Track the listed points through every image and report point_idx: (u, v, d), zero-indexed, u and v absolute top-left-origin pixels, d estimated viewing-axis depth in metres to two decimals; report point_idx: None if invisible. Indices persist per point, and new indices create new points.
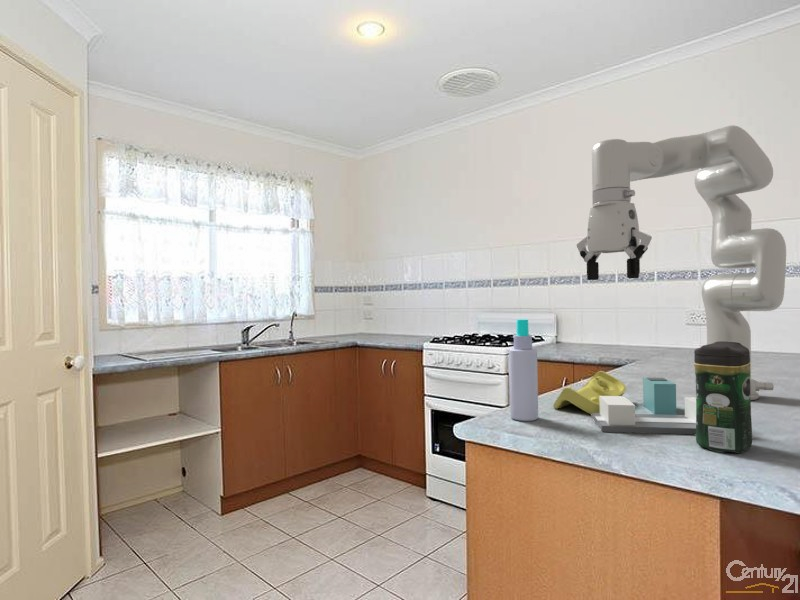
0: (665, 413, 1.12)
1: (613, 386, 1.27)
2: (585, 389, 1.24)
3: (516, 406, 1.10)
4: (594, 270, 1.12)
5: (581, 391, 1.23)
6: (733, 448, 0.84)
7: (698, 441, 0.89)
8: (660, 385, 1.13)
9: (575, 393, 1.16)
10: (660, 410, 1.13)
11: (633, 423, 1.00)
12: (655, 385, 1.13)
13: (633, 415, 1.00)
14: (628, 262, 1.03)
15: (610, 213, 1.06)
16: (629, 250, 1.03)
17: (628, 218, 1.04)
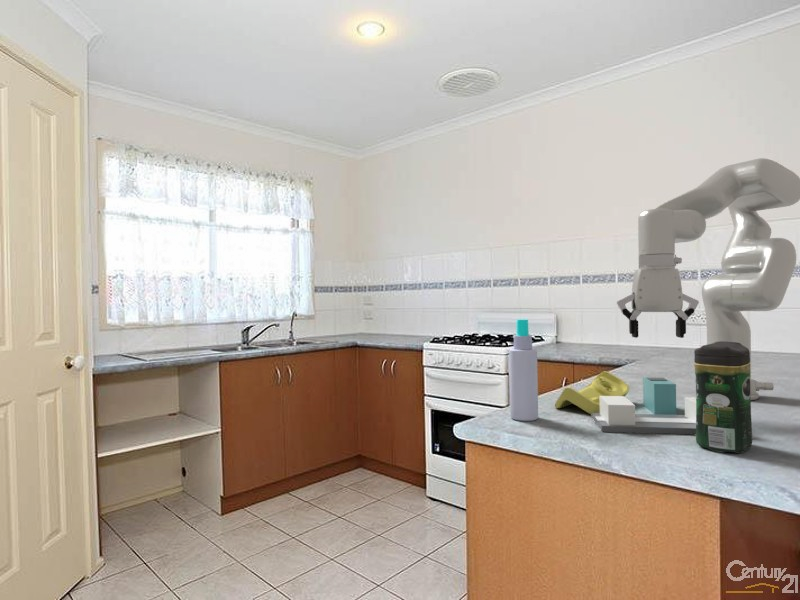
0: (665, 413, 1.12)
1: (616, 386, 1.26)
2: (587, 389, 1.24)
3: (516, 406, 1.10)
4: None
5: (583, 391, 1.22)
6: (733, 448, 0.84)
7: (698, 441, 0.89)
8: (660, 385, 1.13)
9: (576, 393, 1.16)
10: (660, 410, 1.13)
11: (633, 423, 1.00)
12: (655, 385, 1.13)
13: (633, 415, 1.00)
14: (682, 323, 1.14)
15: (667, 277, 1.14)
16: (682, 312, 1.14)
17: None
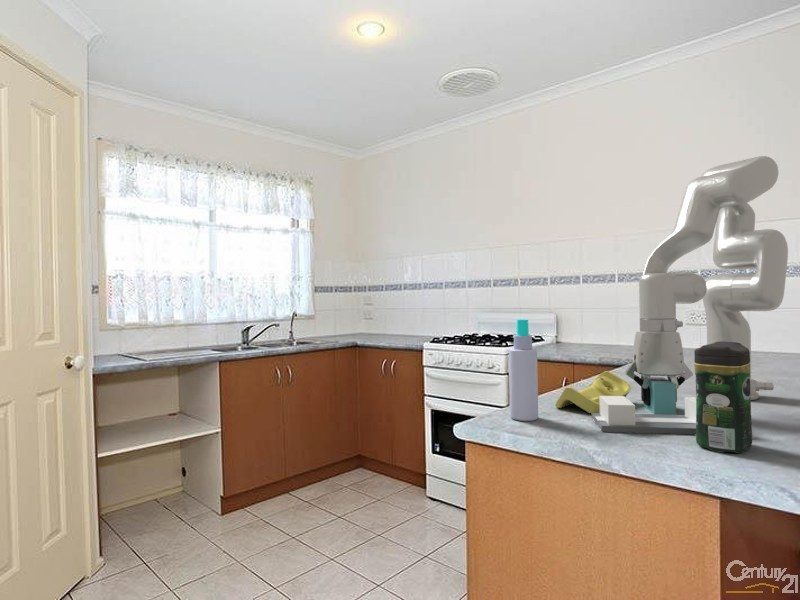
0: (665, 413, 1.12)
1: (618, 386, 1.26)
2: (589, 389, 1.24)
3: (516, 406, 1.10)
4: None
5: (584, 391, 1.23)
6: (733, 448, 0.84)
7: (698, 441, 0.89)
8: (660, 385, 1.13)
9: (576, 393, 1.16)
10: (660, 410, 1.13)
11: (633, 423, 1.00)
12: (655, 385, 1.13)
13: (633, 415, 1.00)
14: None
15: (668, 341, 1.14)
16: (676, 381, 1.15)
17: None
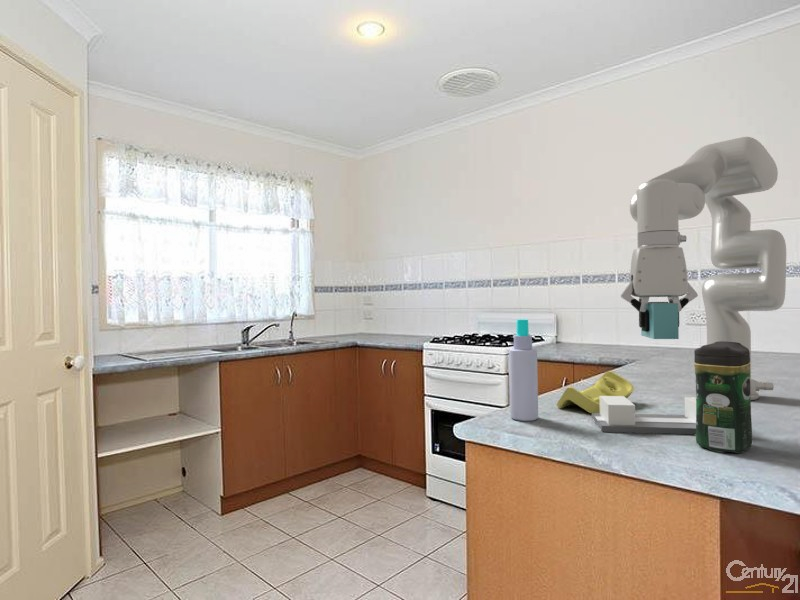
0: (666, 336, 0.99)
1: (621, 387, 1.26)
2: (591, 389, 1.24)
3: (516, 406, 1.10)
4: None
5: (586, 391, 1.23)
6: (733, 448, 0.84)
7: (698, 441, 0.89)
8: (660, 305, 0.99)
9: (577, 393, 1.16)
10: (660, 333, 0.99)
11: (633, 423, 1.00)
12: (654, 305, 0.99)
13: (633, 415, 1.00)
14: None
15: (670, 257, 1.00)
16: (678, 302, 1.01)
17: (685, 264, 1.01)
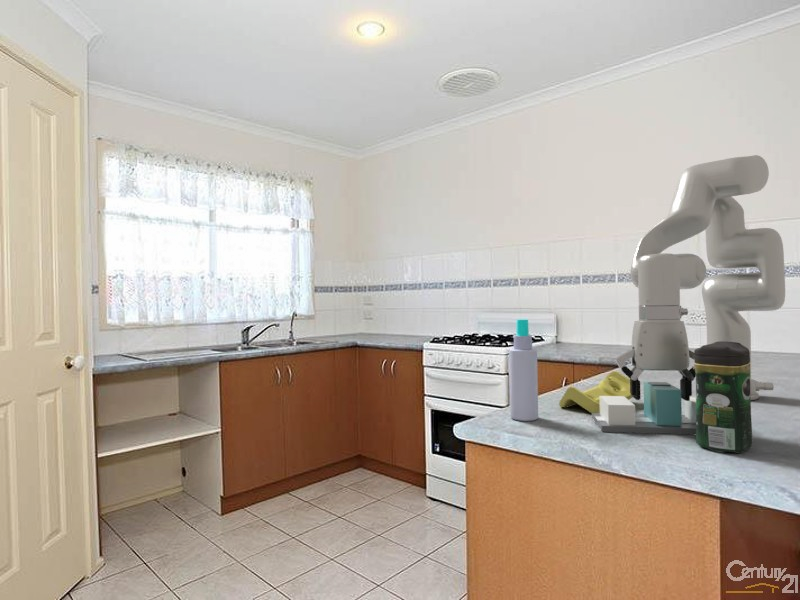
0: (669, 423, 0.99)
1: (625, 387, 1.25)
2: (594, 389, 1.24)
3: (516, 406, 1.10)
4: None
5: (589, 391, 1.22)
6: (733, 448, 0.84)
7: (698, 441, 0.89)
8: (663, 391, 0.99)
9: (578, 392, 1.16)
10: (663, 419, 0.99)
11: (633, 423, 1.00)
12: (657, 391, 0.99)
13: (633, 415, 1.00)
14: (688, 385, 1.00)
15: (671, 331, 1.00)
16: (688, 372, 1.01)
17: None
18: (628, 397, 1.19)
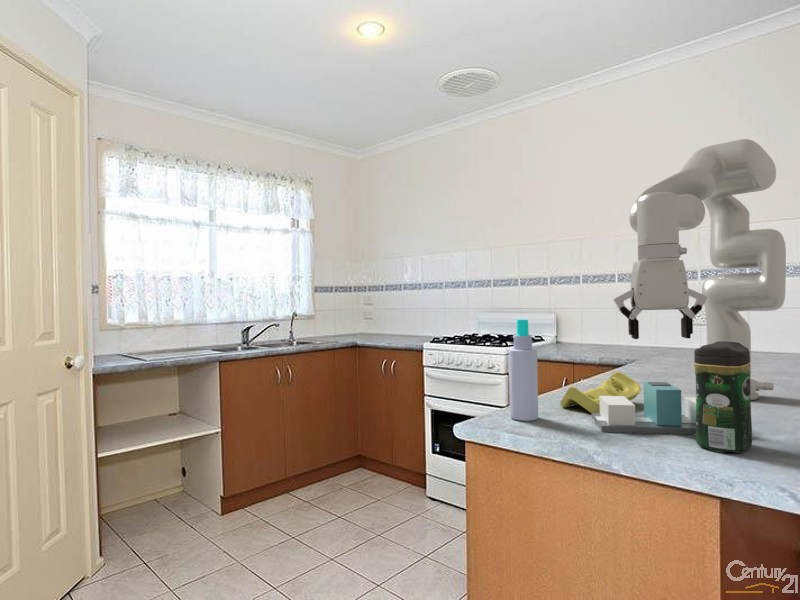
0: (669, 423, 0.99)
1: (628, 387, 1.24)
2: (597, 389, 1.24)
3: (516, 406, 1.10)
4: None
5: (591, 391, 1.22)
6: (733, 448, 0.84)
7: (698, 441, 0.89)
8: (663, 391, 0.99)
9: (579, 393, 1.16)
10: (663, 419, 0.99)
11: (633, 423, 1.00)
12: (657, 391, 0.99)
13: (633, 415, 1.00)
14: (688, 322, 1.00)
15: (671, 269, 1.00)
16: (688, 310, 1.01)
17: (686, 277, 1.01)
18: (630, 398, 1.19)
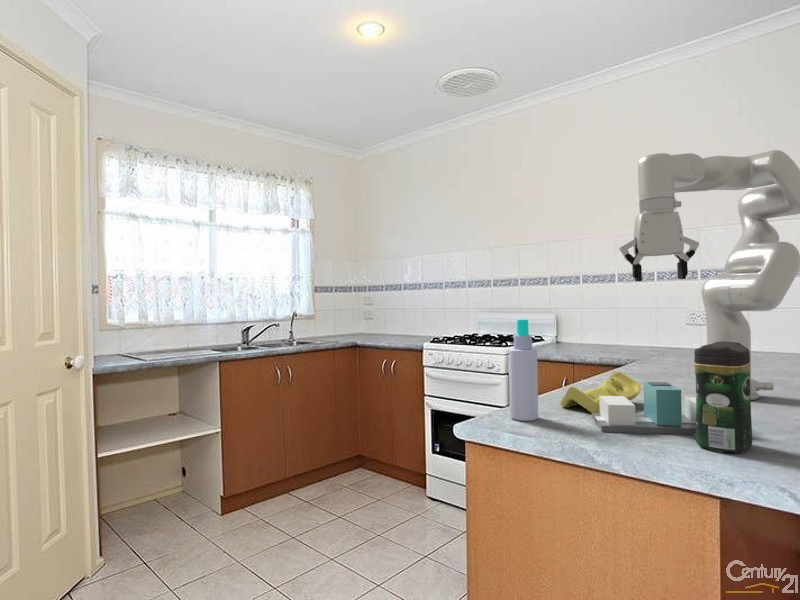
0: (669, 423, 0.99)
1: (628, 387, 1.25)
2: (597, 389, 1.24)
3: (516, 406, 1.10)
4: None
5: (591, 391, 1.22)
6: (733, 448, 0.84)
7: (698, 441, 0.89)
8: (663, 391, 0.99)
9: (579, 392, 1.16)
10: (663, 419, 0.99)
11: (633, 423, 1.00)
12: (657, 391, 0.99)
13: (633, 415, 1.00)
14: (684, 265, 1.17)
15: (668, 220, 1.17)
16: (684, 254, 1.17)
17: (681, 226, 1.17)
18: (630, 397, 1.19)
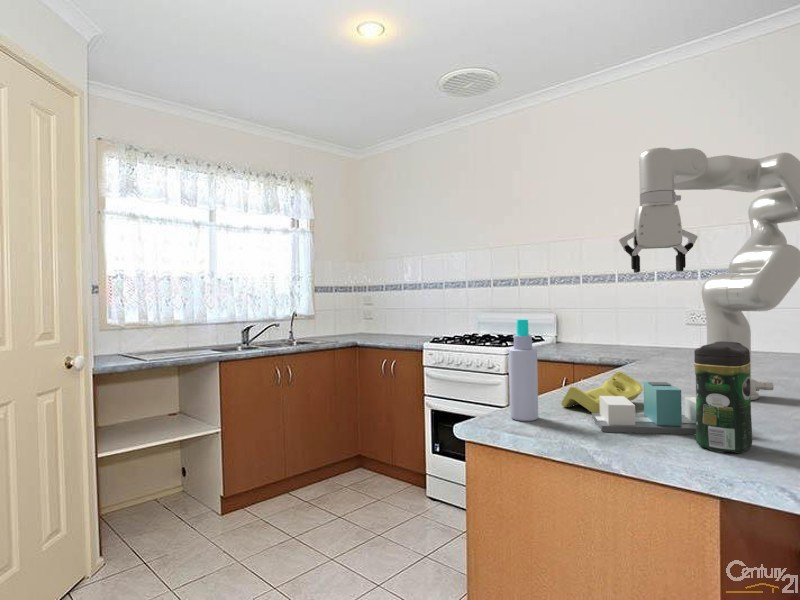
0: (669, 423, 0.99)
1: (630, 387, 1.24)
2: (598, 389, 1.24)
3: (516, 406, 1.10)
4: None
5: (592, 391, 1.22)
6: (733, 448, 0.84)
7: (698, 441, 0.89)
8: (663, 391, 0.99)
9: (580, 392, 1.16)
10: (663, 419, 0.99)
11: (633, 423, 1.00)
12: (657, 391, 0.99)
13: (633, 415, 1.00)
14: (682, 257, 1.20)
15: (667, 212, 1.19)
16: (682, 247, 1.20)
17: (680, 219, 1.20)
18: (631, 397, 1.19)
